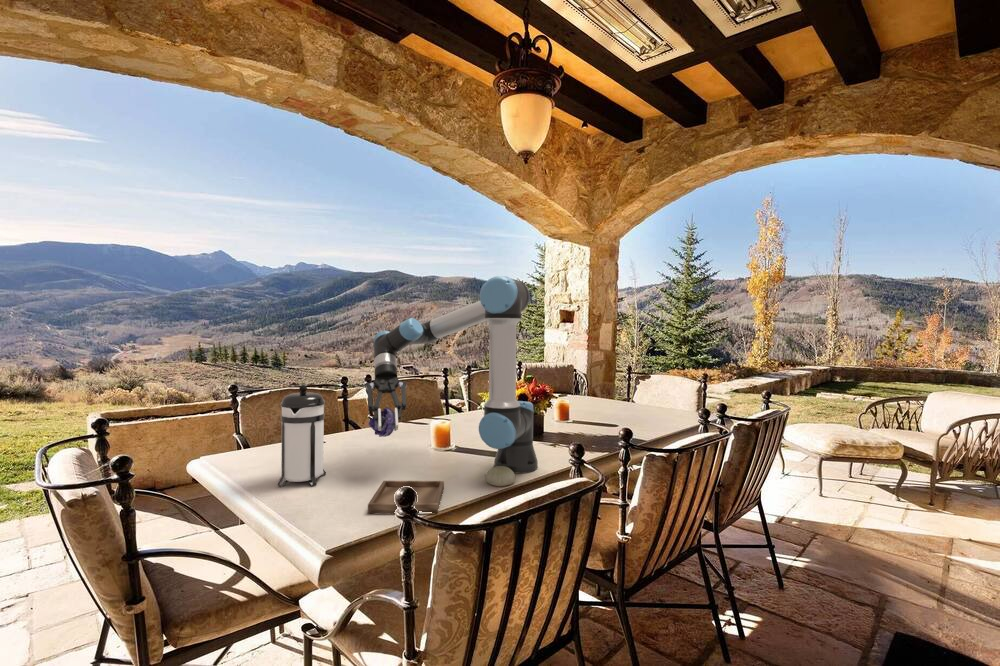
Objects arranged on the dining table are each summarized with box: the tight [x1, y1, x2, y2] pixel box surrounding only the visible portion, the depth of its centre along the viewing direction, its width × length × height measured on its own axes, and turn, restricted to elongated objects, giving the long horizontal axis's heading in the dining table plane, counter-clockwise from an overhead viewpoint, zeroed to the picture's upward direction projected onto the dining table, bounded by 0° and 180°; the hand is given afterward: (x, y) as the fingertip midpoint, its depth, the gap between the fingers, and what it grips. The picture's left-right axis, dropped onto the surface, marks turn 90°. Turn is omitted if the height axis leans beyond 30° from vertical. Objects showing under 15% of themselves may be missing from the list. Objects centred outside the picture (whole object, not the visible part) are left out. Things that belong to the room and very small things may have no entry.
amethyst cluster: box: [368, 407, 397, 438], centre depth 148 cm, size 9×9×10 cm
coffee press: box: [277, 384, 327, 488], centre depth 143 cm, size 17×16×30 cm
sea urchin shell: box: [484, 466, 516, 487], centre depth 143 cm, size 9×8×8 cm
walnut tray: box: [367, 480, 445, 515], centre depth 128 cm, size 18×18×2 cm
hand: (388, 427), depth 142 cm, fingers closed on amethyst cluster, 4 cm apart
